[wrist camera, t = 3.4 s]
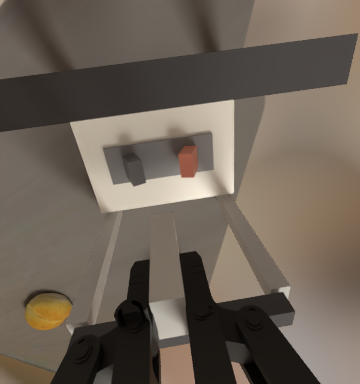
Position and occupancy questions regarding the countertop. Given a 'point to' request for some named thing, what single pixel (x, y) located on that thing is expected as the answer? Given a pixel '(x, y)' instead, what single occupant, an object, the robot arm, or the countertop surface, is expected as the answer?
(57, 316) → the bread roll
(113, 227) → the white grey open frame
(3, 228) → the countertop surface
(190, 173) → the terracotta block
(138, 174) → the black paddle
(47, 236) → the countertop surface
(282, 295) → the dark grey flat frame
